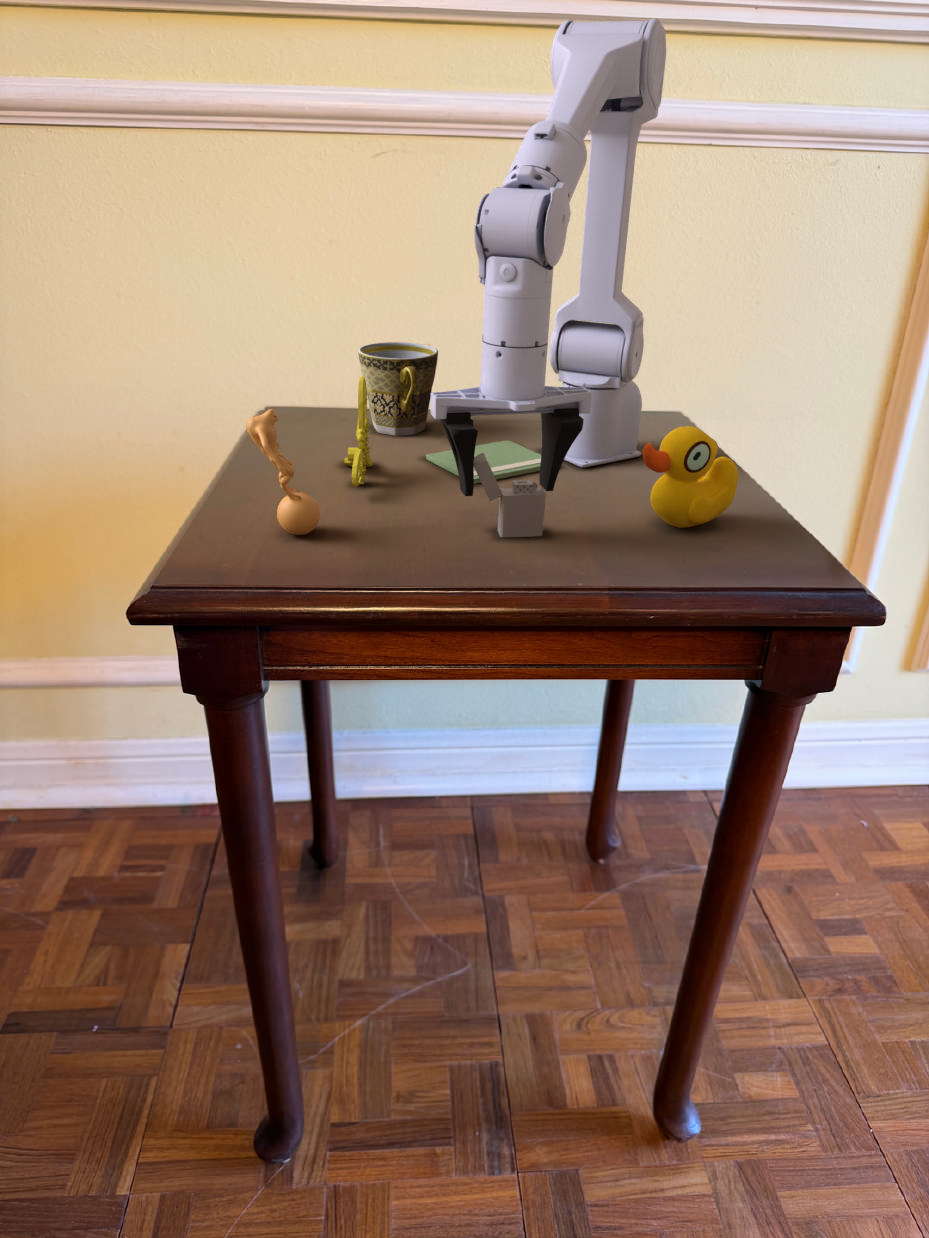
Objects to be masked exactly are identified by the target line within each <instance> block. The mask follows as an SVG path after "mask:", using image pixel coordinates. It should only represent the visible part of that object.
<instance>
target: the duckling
mask: <svg viewBox="0 0 929 1238" xmlns="http://www.w3.org/2000/svg"><path fill="white" fill-rule="evenodd" d="M718 451H719V445H718V442H717V441H716V440H715V439H714V438H713V437H711V436H710V435H708V434H707V433H706V432H705V431H703V430H701V429H699V428H698V427H696V426H691V425H686V426H684V425H683V426H679V427H676V428H673V429H672V430H671V431H669V432H668V433H667V434H666V435H665V436H664V438H663V439H662V441H661V443H660V445H659V449H658V450H657V449H655V447H654V445H653V444H652V443H650V442H647V443H646V444H645V445H644V446H643V449H642V460H643V462H644V465H645V466H646V468H648V469H649V470H651V471H653V472H655V473H659V474H662V473H663V474H662V475H661V476H660V477H659V478H658V479H657V480H656V481H655V483H654V484H653V486H652V488H651V491H650V496H649V502H650V506H651V508H652V510H653V511H654V513H655V514H656V515H657V516H658V517H659V519H661V521H663V522H664V523H666V524H667V525H670V526H672V527H674V528H678V529H685V528H690V527H691V528H692V527H695V526H699V525H703V524H706V523H709V522H710V521H712V520H714V519H715V518H717V517H719V516H720V515H722V514H724V512H725V511H726V510H727V509H728V508H729V507H730V506H731V504H732V503H733V501H734V498H735V496H736V492H737V487H738V482H739V471H738V467H737V465H736V463H735V462H734V461H733V460H732V459H731V458H729V457H727V456H719V457H717V458H716V456H717V454H718Z"/></svg>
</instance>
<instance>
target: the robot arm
mask: <svg viewBox="0 0 929 1238" xmlns="http://www.w3.org/2000/svg"><path fill="white" fill-rule="evenodd" d="M551 45H552V46H551V52H550V76H551V82H552V86H553V88H554V91H553V92H554V93H553V96H552V98H551V102H550V105H549V108H548V110H547V113H546V117H545V119H544V120H541V121H538V122H536V123H535V124H533V125H532V126H530V128H529V129H528V130H527V132H526V134H525V136H524V138H523V139H522V142H521V144H520V146H519V148H518V150H517V152H516V154H515V157H514V159H513V161H512V163H511V165H510V168H509V169H508V171H507V174H506V176H505V178H504V179H503V182H502V184H501V187H500V186H496V187H494V188H492V190H490V193H485V194H484V195H483V196H482V198H481V199H480V201H479V204H478V207H477V211H476V215H475V223H474V225H473V227H474V228H473V236H474V237H473V238H474V246H475V247H474V248H475V251H476V254H477V260H478V278H479V283H480V284H482V285H483V286H484V287H483V307H482V308H483V309H482V310H483V311H482V334H481V335H482V338H481V364H480V365H481V366H480V367H481V368H480V386H476V387H468V388H460V389H455V390H445V391H431V398H430V409H429V411H430V415H431V416H432V417H433V419H434V420H439V421H440V424H441V426H442V428H443V430H444V433H445V435H446V437H447V439H448V442H449V443H448V444H449V445H450V448H451V450H452V451H453V454H454V458H455V461H456V465H457V470H458V475H459V476H458V480H459V481H458V482H459V490H460V491H461V492H462V494H463V495H464V497H473V496H474V488H475V484H474V454H475V446H477V439H478V435H479V434H478V433H479V431H478V429H477V428H476V427H475V426H474V419H472V418H471V417H477V416H479V417H480V416H501V415H503V416H504V415H526V414H527V415H529V414H540V418H541V419H540V421H541V422H540V423H541V454H540V455H541V464H540V471H539V485H540V487H541V488H543V490H544V491H545V492H553V491H554V489H555V486H556V482H557V478H558V475H559V473H560V471H561V467H562V465H563V463H564V461H566V462H568V463H570V464H573V465H575V466H577V467H579V468H589V467H594V466H599V465H603V464H609V463H614V462H618V461H623V460H624V461H625V460H629V459H632V458H633V459H634V458H638V457H641V455H642V452H641V451H639V450H637V449H638V441H639V433H640V424H641V418H642V409H643V400H642V399H643V398H642V394H641V390H640V389H639V386H638V385H637V384H636V382H634V379H635V378H636V377H637V376H638V374H639V371H640V368H641V364H642V360H643V355H644V354H643V353H644V342H645V338H644V320H645V318H644V313H643V311H642V310H641V309H640V308H639V307H638V306H637V305H636V304H635V303H634V302H633V301H632V300H630V298H628V297H627V296H626V294H624V292H623V283H624V271H625V264H626V252H627V242H628V233H629V223H630V214H631V203H632V195H633V194H632V193H633V184H634V175H635V166H636V156H637V155H636V154H637V147H638V142H639V137H640V134H641V129H642V126H643V125H644V124H647V123H648V122H650V121H653V120H654V119H656V118H658V116H659V108H660V107H661V104H662V97H663V89H664V79H665V72H666V71H665V70H666V62H667V35H666V30H665V27H664V25H663V24H662V22H661V21H660V19H659V18H650V19H649V20H613V21H612V20H611V21H609V20H607V21H574V20H573V19H565V20H563V22H561V24H560V26H559V27H558V28H557V30H556V32H555V33H554V37H553V41H552V44H551ZM588 133H590V146H589V158H588V151H587V145H586V142H585V139H586V136H587V135H588ZM587 160H588V170H587V171H588V172H587V184H586V198H585V210H584V223H583V233H582V247H581V259H580V260H581V261H580V273H579V285H578V293H577V294H575V295H574V296H573V297H571V298H569V299H568V300H566V301H565V302H564V303H563V304H561V305H560V307H558V309H557V311H556V313H555V315H554V324H553V329H552V333H551V336H550V342H549V334H550V333H549V332H550V319H551V305H552V292H553V281H554V279H553V277H554V267H555V266H557V264H558V263H559V261H560V260H561V258H562V256H563V253H564V249H565V245H566V240H567V232H568V226H569V223H570V221H571V204H570V203H571V200H572V198H573V195H574V193H575V191H576V189H577V186H578V184H579V181H580V179H581V177H582V174H583V172H584V170H585V168H586V165H587ZM548 347H549V351H548ZM548 357H549V364H550V365H549V366H551V369H552V370H553V372H554V374H556V375H558V377H557V381H558V382H562V385H561V386H552V385H551V386H550V385H546V377H547V376H546V373H547V363H548V361H547V360H548Z"/></svg>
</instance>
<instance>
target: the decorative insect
mask: <svg viewBox="0 0 929 1238" xmlns="http://www.w3.org/2000/svg"><path fill="white" fill-rule="evenodd" d="M357 390H358V391H357V392H358V394H357V415H358V416H357V417H358V418H357V423H356V424H357V425H356V434H355V436H356V440H357V447H348V448H347V457H345V458H344V462H343V463H344V465H345V466H349V467H351V486H352V487H358V486H360V485H364V484H365V480H366V477H367V475H365V474H366V472H367V467H370V468H371V467H372V466H373V463H374V461H373V459H372V457H371V455H370V452H371V451H370V450H371V446H369V445H368V444H369V443H370V441H369V440H368V439H369V438H370V436H369V432H370V423H369V421H370V420H369V418H368V416H367V411H368V397H367V388H366V380H365V378H364V377H363V376H359V378H358V389H357Z"/></svg>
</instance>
